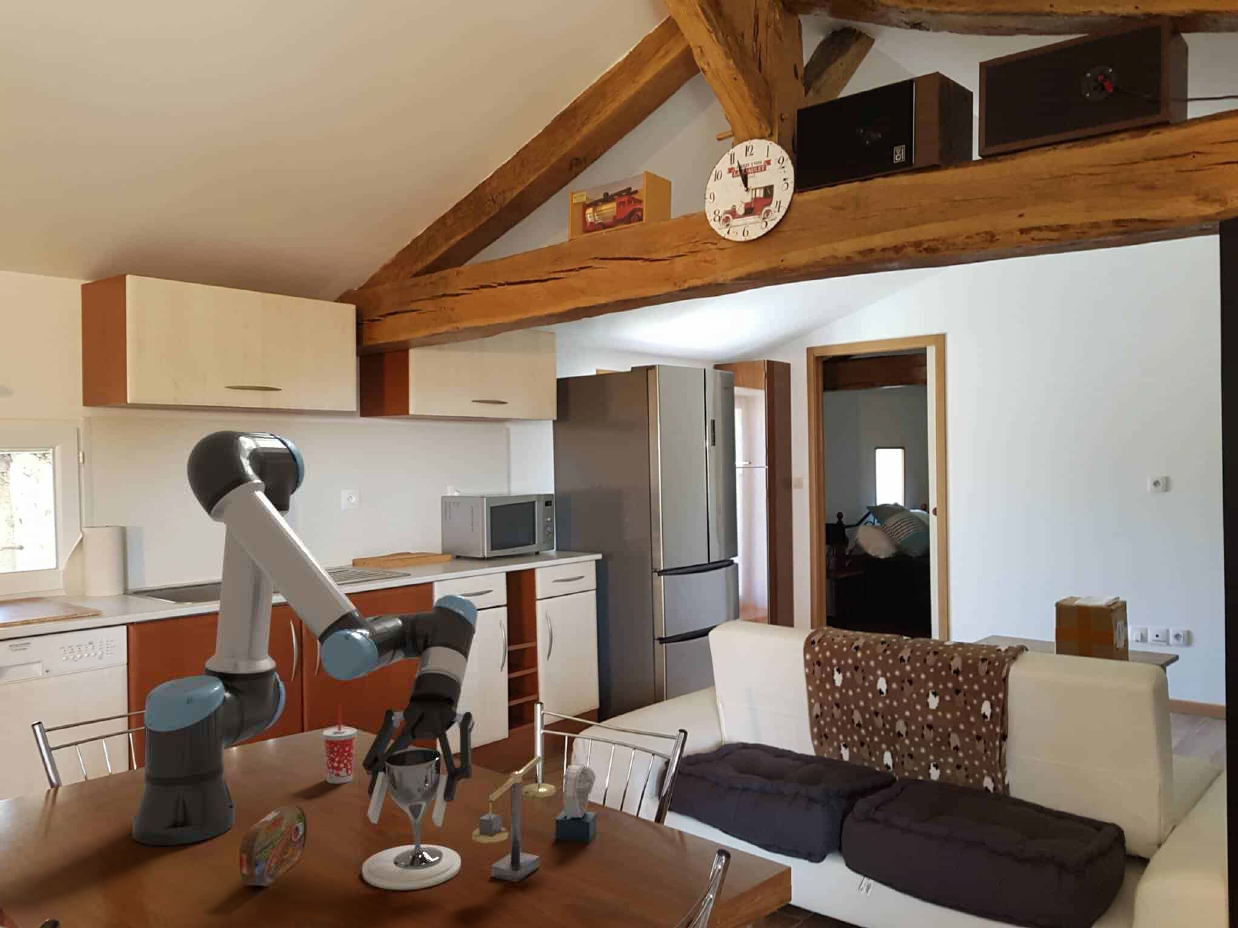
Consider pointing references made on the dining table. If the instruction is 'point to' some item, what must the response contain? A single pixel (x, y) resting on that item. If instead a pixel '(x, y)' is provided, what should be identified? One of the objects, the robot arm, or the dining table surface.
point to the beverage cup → (339, 752)
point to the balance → (512, 826)
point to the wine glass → (414, 797)
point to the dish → (409, 870)
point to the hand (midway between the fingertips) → (404, 820)
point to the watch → (576, 805)
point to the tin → (272, 845)
